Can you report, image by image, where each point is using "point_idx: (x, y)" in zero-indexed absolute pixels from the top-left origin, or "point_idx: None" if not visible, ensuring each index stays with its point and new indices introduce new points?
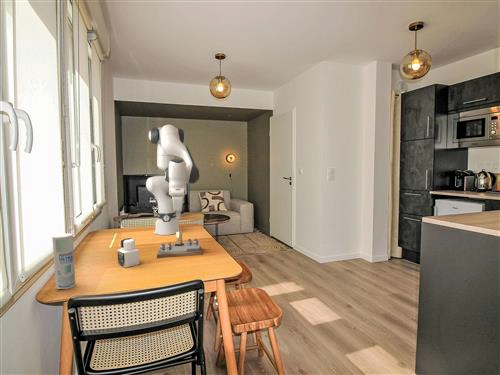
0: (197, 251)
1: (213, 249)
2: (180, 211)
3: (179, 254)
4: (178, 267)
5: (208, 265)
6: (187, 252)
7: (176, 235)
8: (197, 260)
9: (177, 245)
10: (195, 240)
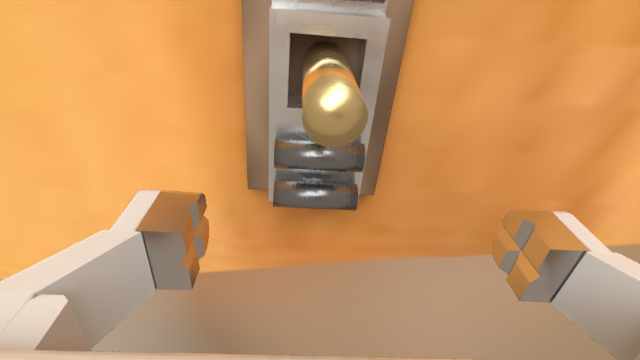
0: (261, 169)
1: (330, 239)
2: (571, 319)
3: (245, 54)
4: (4, 28)
5: (56, 189)
6: (253, 111)
7: (327, 74)
8: (145, 149)
9: (310, 56)
10: (302, 198)
